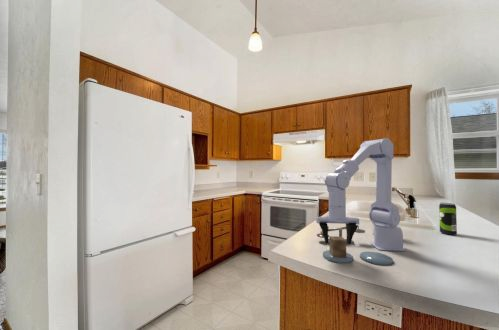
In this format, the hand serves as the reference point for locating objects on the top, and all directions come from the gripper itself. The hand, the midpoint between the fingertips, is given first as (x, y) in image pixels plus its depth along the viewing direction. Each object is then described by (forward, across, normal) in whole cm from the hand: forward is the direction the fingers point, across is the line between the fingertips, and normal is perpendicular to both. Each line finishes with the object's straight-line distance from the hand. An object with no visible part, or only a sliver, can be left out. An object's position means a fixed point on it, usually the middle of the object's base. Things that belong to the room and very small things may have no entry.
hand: (337, 243), depth 78 cm
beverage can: (+5, +63, +37) cm, 73 cm away
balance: (+5, +6, +17) cm, 19 cm away
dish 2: (+5, +13, 0) cm, 14 cm away
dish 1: (+5, 0, 0) cm, 5 cm away
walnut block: (+4, 0, 0) cm, 4 cm away
